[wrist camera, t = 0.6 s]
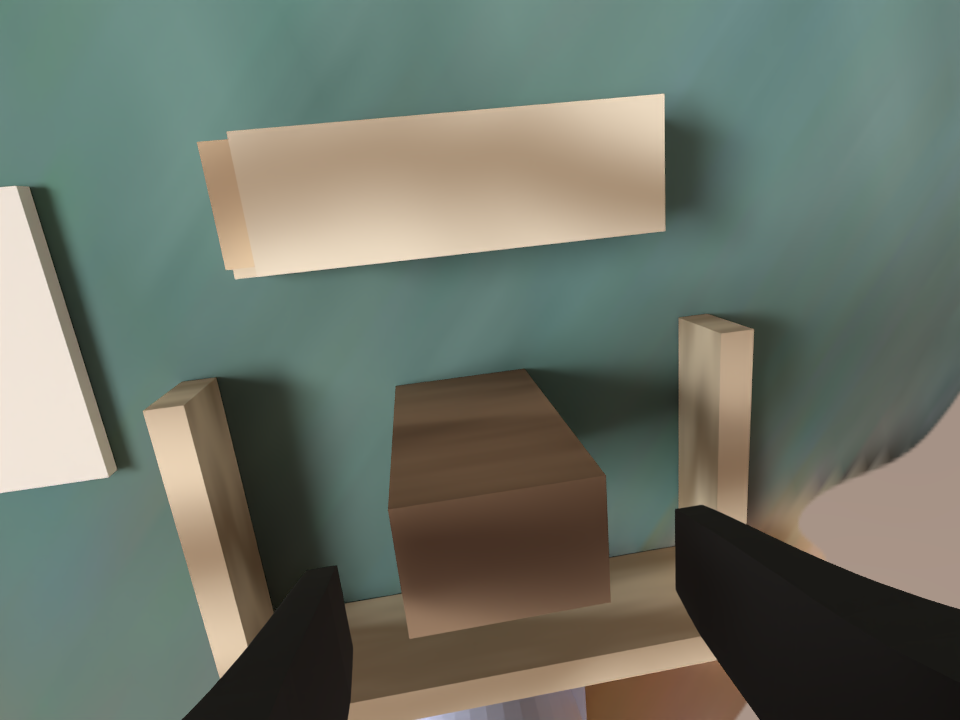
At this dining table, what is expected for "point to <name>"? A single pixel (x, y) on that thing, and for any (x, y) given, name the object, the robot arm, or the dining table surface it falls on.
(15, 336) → the mat
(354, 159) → the offcut stack
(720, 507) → the rack
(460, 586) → the brown wooden block
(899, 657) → the robot arm
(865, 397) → the dining table surface
